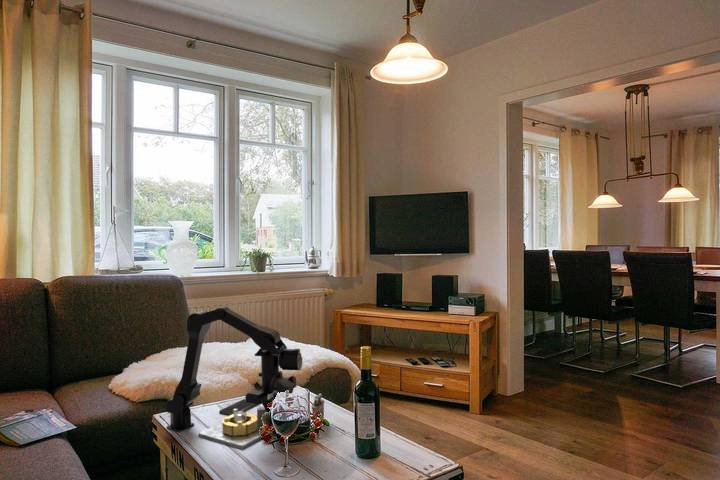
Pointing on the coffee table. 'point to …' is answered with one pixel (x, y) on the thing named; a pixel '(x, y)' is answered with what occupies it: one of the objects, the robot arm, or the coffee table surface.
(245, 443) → the grey base plate
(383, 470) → the coffee table surface
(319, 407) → the lighter
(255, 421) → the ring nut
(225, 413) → the phone
